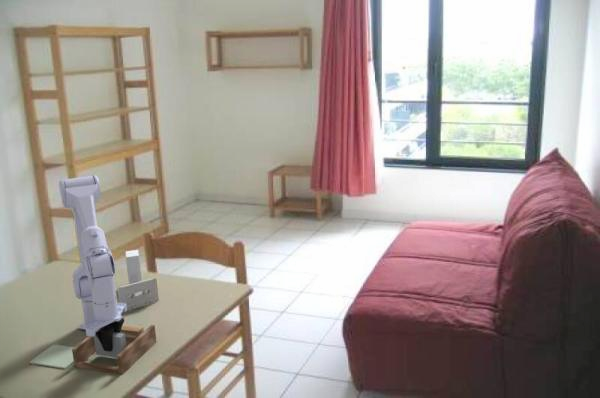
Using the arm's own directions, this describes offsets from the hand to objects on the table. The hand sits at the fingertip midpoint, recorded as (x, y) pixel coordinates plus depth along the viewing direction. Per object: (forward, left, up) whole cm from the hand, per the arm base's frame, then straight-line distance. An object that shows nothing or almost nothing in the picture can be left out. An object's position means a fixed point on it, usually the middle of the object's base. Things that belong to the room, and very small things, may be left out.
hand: (111, 348), depth 150 cm
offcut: (-8, 0, -3) cm, 9 cm away
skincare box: (-41, -19, -3) cm, 45 cm away
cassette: (-29, -10, -3) cm, 31 cm away
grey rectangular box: (0, 0, -2) cm, 2 cm away
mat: (+3, -14, -3) cm, 15 cm away
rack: (-2, 0, -3) cm, 3 cm away
